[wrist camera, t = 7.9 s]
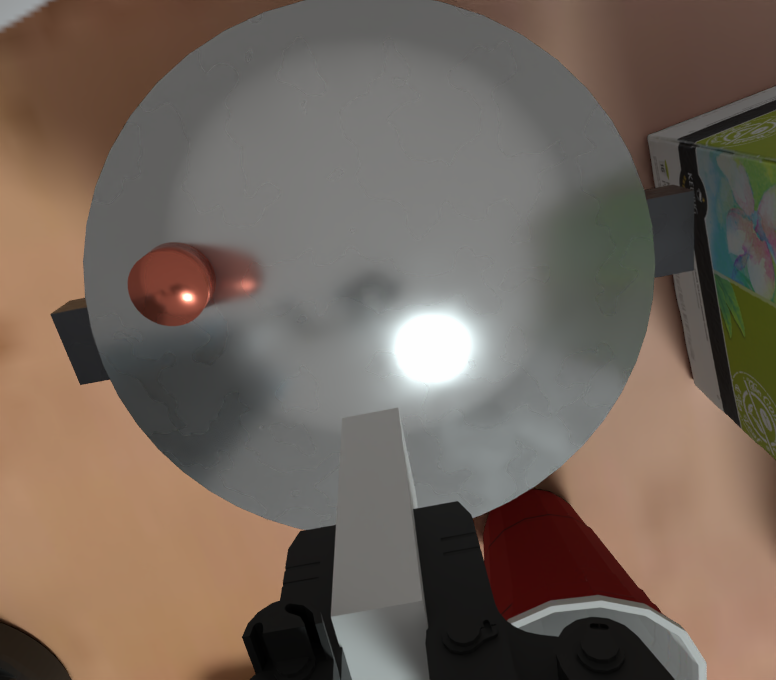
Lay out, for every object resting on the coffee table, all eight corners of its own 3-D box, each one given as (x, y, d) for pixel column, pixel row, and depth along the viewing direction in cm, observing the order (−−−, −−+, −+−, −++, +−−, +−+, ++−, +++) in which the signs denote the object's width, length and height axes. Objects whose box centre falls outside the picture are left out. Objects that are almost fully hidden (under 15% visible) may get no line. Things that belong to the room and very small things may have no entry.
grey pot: (206, 449, 36) (150, 573, 26) (83, 100, 28) (-54, 102, 19) (612, 376, 35) (701, 478, 25) (592, -5, 27) (707, -56, 18)
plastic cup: (443, 454, 36) (476, 611, 25) (621, 451, 37) (731, 605, 26) (437, 593, 40) (464, 782, 29) (598, 589, 41) (684, 774, 30)
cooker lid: (198, 546, 26) (181, 595, 23) (8, 69, 18) (-48, 67, 16) (641, 468, 25) (671, 511, 23) (629, -62, 18) (672, -84, 15)
